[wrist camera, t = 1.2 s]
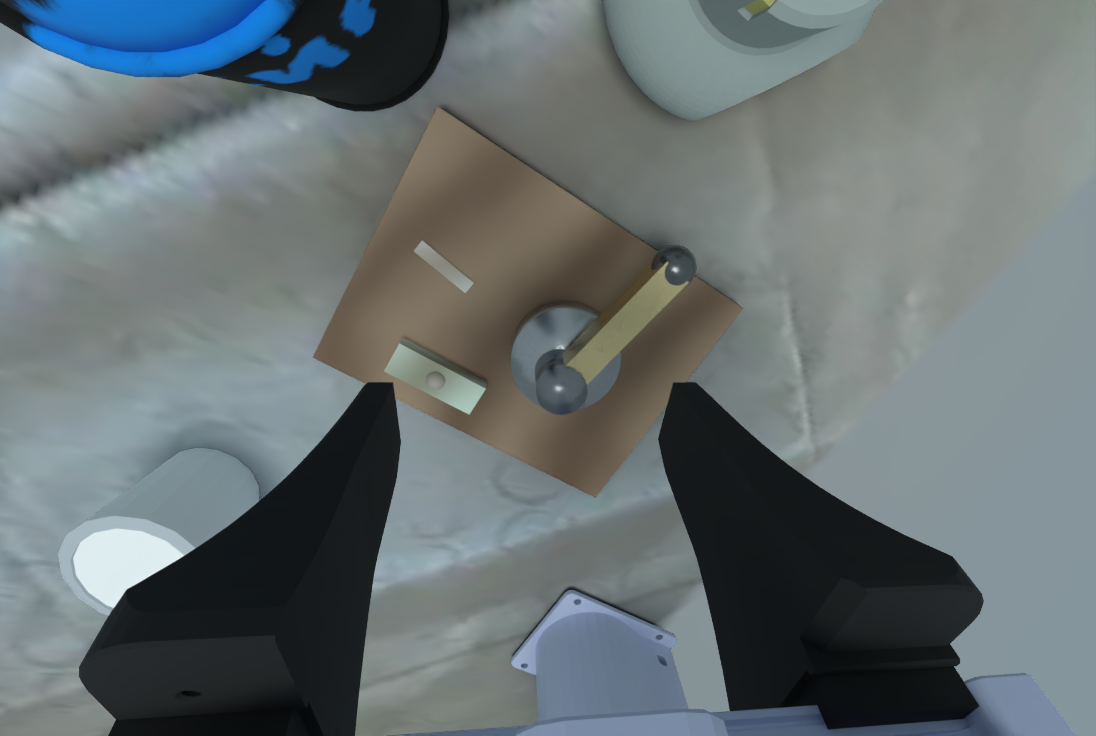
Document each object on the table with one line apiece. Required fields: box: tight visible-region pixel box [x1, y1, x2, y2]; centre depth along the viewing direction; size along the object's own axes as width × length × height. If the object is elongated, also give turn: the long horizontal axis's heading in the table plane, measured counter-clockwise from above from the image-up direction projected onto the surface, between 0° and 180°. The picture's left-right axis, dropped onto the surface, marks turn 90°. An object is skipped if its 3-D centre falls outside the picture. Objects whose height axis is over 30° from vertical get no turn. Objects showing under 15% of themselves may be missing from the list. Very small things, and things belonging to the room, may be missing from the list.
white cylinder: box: [58, 447, 259, 616], centre depth 29 cm, size 7×7×7 cm
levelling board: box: [313, 107, 743, 498], centre depth 28 cm, size 18×14×2 cm
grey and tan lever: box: [511, 245, 696, 415], centre depth 26 cm, size 11×6×4 cm, turn 138°
